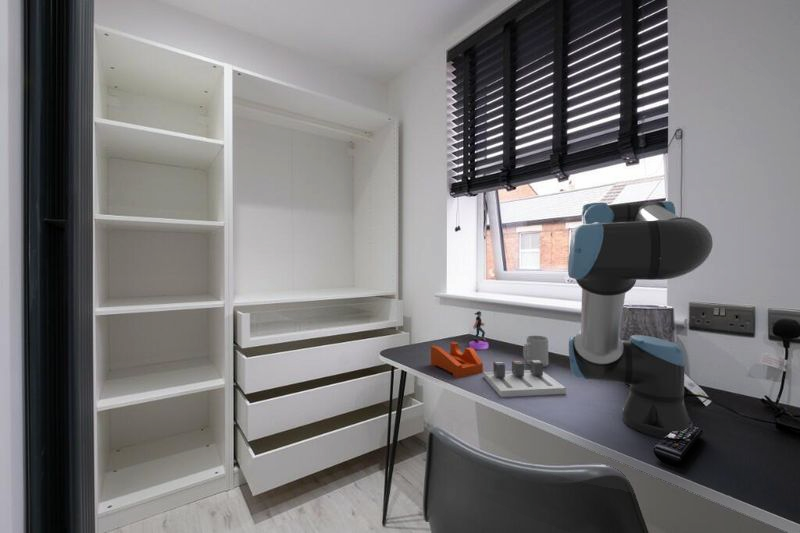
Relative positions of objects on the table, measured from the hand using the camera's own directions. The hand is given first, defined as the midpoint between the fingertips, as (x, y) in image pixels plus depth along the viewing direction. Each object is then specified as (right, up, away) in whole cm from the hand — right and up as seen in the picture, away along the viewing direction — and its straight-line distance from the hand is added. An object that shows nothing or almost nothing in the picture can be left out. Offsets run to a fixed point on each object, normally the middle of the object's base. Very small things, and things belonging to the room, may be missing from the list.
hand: (594, 321), depth 113 cm
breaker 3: (-15, -21, +12) cm, 28 cm away
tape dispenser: (-42, -24, +27) cm, 55 cm away
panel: (-21, -24, +8) cm, 33 cm away
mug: (-8, -23, +30) cm, 39 cm away
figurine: (-25, -22, +58) cm, 67 cm away
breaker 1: (-29, -21, +11) cm, 37 cm away
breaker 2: (-22, -21, +11) cm, 32 cm away
